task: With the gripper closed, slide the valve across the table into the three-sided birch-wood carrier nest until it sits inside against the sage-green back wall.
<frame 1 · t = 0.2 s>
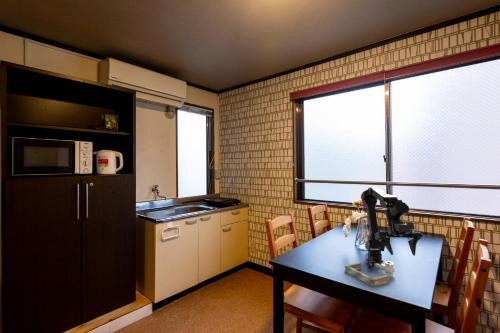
hand: (403, 255, 108), 15 cm above the table, tool tilted 30°, fingers open, 9 cm apart
carrier nest: (366, 276, 119), on the table
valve: (381, 273, 123), on the table
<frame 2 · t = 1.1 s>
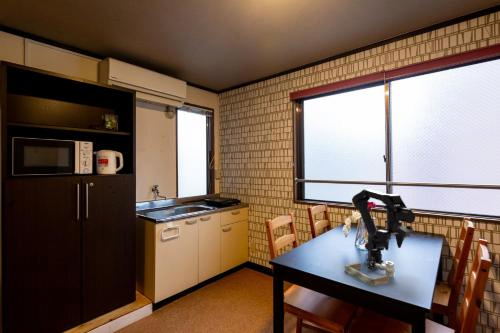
hand: (393, 249, 126), 11 cm above the table, tool pointing down, fingers open, 9 cm apart
nothing on the table moved.
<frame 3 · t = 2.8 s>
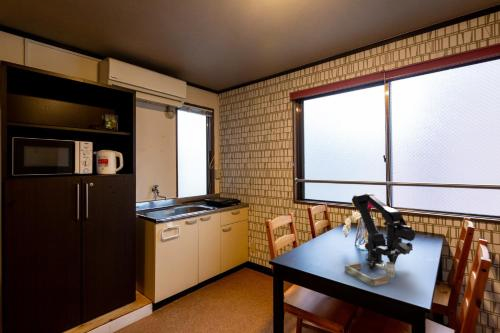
hand: (392, 265, 126), 2 cm above the table, tool pointing down, fingers closed
nothing on the table moved.
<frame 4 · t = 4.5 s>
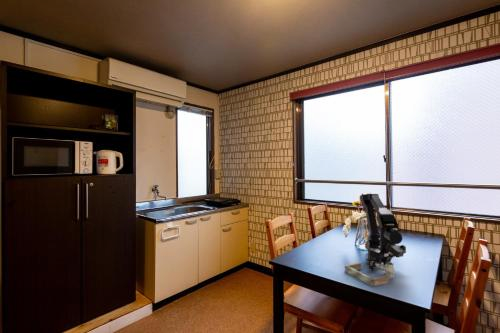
hand: (386, 268, 124), 2 cm above the table, tool pointing down, fingers closed
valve: (382, 273, 122), on the table, touching gripper
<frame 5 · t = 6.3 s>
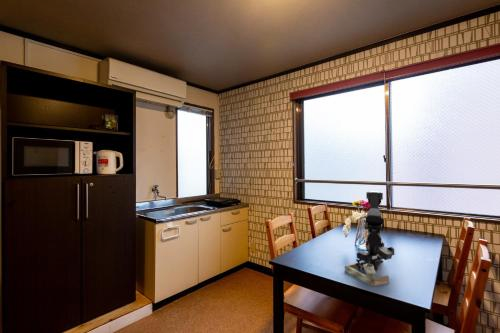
hand: (375, 271, 121), 2 cm above the table, tool pointing down, fingers closed
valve: (368, 275, 120), on the table, touching carrier nest, gripper
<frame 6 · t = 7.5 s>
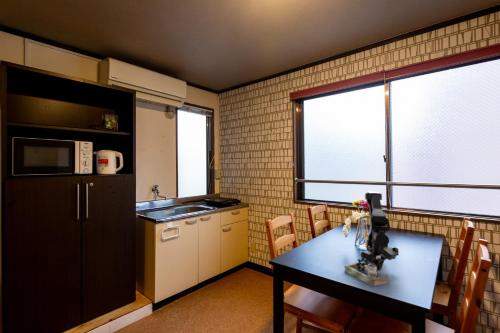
hand: (378, 270, 123), 1 cm above the table, tool pointing down, fingers closed
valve: (368, 275, 121), on the table
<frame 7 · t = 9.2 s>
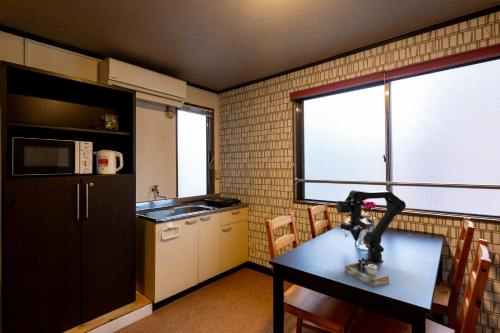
hand: (355, 240, 137), 12 cm above the table, tool pointing down, fingers closed
nothing on the table moved.
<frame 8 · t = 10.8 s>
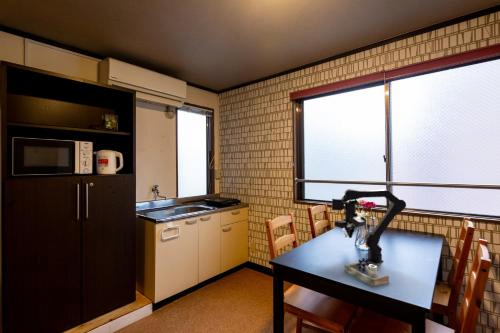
hand: (350, 237, 142), 12 cm above the table, tool pointing down, fingers closed
nothing on the table moved.
at the end: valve 2.1 cm off-centre on the carrier nest, point 0.0 cm above the carrier nest's base; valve moved 8.5 cm from its start; the gripper is holding nothing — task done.
